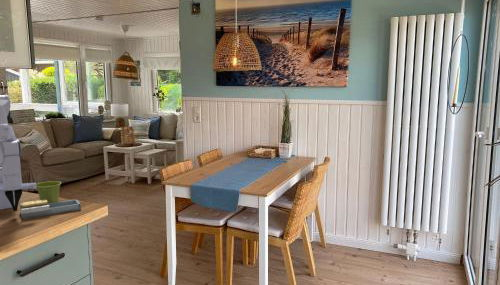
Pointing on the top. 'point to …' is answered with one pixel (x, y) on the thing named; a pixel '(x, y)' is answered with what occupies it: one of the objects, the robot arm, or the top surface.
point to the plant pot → (49, 191)
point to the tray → (64, 206)
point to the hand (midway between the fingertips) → (15, 210)
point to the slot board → (35, 211)
